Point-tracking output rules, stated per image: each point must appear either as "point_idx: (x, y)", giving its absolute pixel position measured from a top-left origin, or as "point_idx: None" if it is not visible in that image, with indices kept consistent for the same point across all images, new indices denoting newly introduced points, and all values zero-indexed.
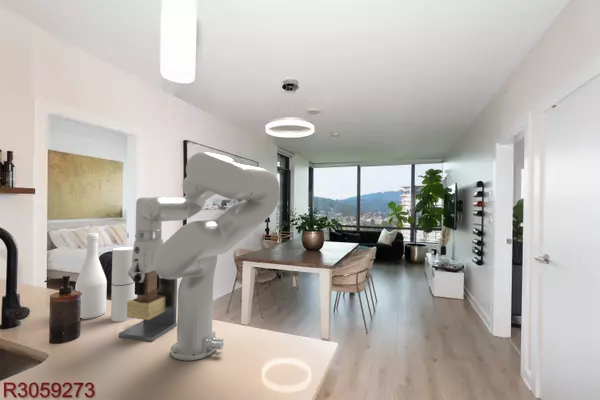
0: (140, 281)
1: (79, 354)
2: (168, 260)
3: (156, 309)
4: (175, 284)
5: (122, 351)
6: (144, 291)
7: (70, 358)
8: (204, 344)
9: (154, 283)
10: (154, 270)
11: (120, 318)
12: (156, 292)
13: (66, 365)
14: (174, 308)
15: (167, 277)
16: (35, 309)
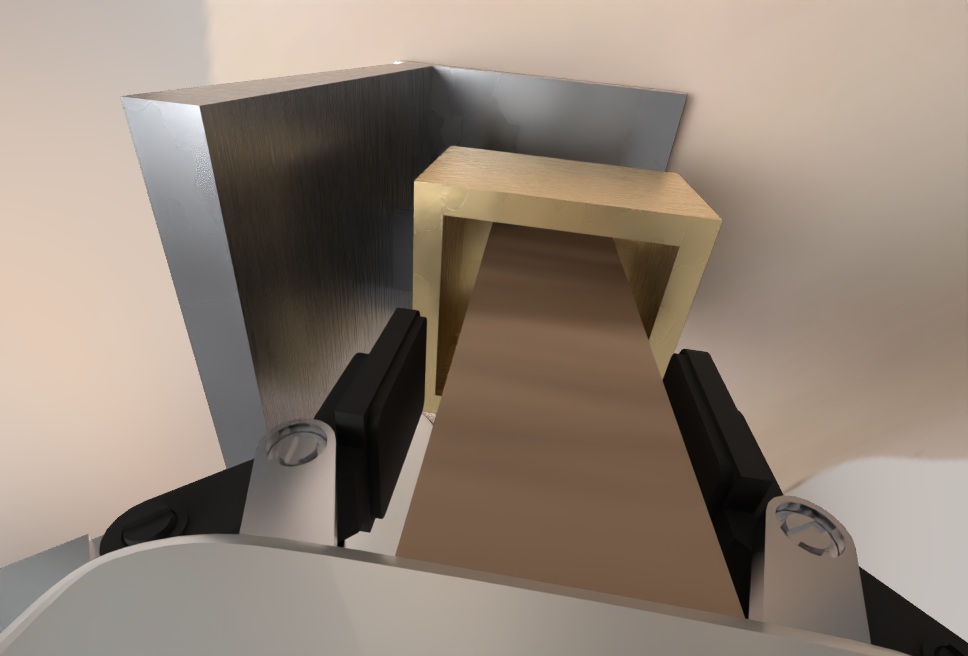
0: (843, 532)
1: (813, 386)
2: None
3: (577, 173)
4: (242, 93)
5: (812, 202)
6: (696, 369)
7: (853, 396)
8: None
9: (513, 367)
10: (590, 597)
11: (428, 434)
12: (480, 284)
13: (932, 372)
14: (391, 71)
15: None
16: None
